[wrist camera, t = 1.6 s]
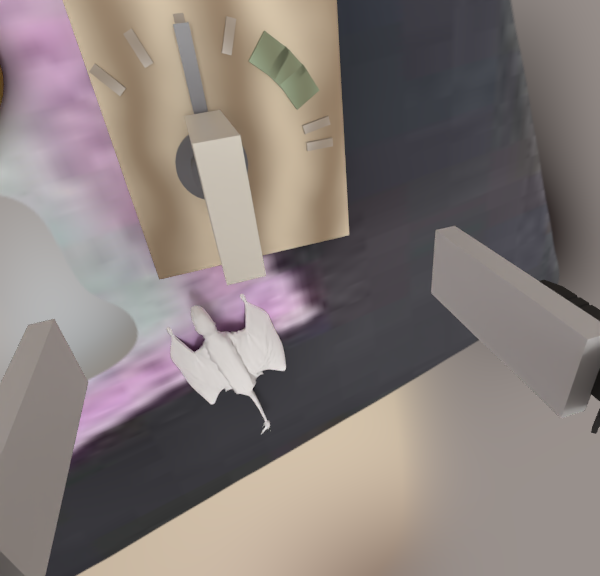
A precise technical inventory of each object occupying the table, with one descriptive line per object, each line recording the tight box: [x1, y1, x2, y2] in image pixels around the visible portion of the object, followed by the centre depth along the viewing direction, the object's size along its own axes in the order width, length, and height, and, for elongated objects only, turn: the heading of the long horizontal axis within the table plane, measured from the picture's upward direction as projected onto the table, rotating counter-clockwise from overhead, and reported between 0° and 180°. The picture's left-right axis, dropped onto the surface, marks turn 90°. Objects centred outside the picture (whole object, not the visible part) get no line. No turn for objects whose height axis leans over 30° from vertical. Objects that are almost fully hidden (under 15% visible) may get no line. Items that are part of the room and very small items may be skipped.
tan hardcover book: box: [63, 0, 349, 279], centre depth 29 cm, size 16×22×3 cm
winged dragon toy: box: [167, 294, 286, 435], centre depth 41 cm, size 18×10×4 cm, turn 19°
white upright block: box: [173, 22, 266, 285], centre depth 24 cm, size 5×12×10 cm, turn 7°
